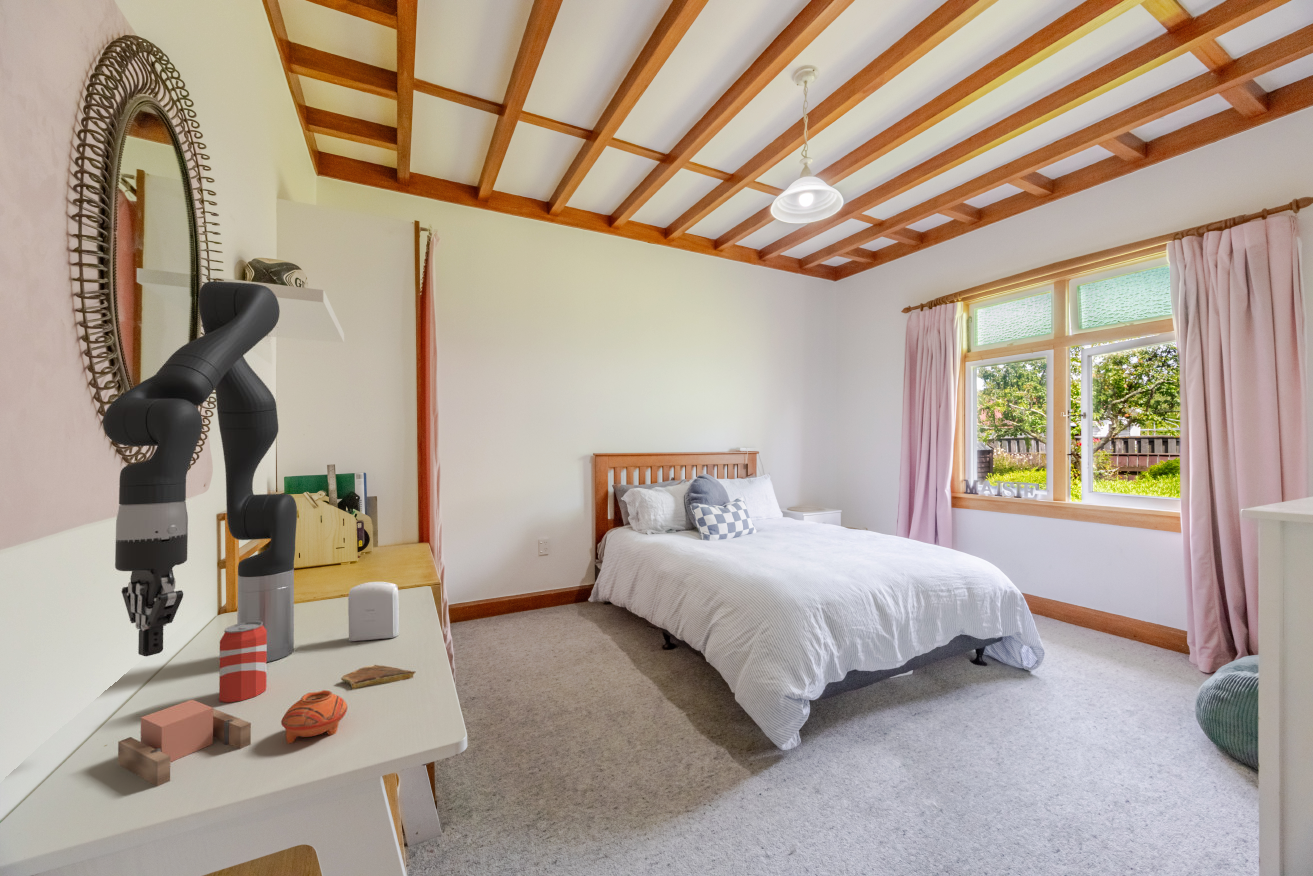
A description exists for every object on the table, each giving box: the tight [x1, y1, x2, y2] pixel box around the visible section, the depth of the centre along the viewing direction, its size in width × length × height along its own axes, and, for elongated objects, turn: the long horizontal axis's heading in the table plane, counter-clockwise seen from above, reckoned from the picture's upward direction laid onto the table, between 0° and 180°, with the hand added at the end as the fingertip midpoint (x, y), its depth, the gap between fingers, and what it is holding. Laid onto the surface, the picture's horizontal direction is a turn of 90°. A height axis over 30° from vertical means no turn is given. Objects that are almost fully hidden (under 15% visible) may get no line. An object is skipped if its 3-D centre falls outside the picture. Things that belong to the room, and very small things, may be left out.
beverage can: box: [218, 621, 268, 703], centre depth 87 cm, size 6×6×12 cm
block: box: [140, 699, 214, 763], centre depth 70 cm, size 6×6×5 cm
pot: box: [280, 689, 348, 744], centre depth 74 cm, size 8×8×7 cm
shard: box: [340, 664, 416, 690], centre depth 92 cm, size 11×8×2 cm
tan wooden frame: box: [117, 708, 252, 788], centre depth 68 cm, size 15×10×4 cm, turn 64°
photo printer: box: [347, 581, 400, 642], centre depth 115 cm, size 10×4×12 cm, turn 99°
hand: (150, 653), depth 74 cm, fingers closed
